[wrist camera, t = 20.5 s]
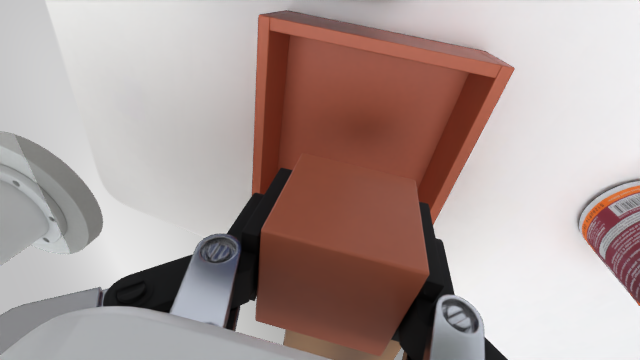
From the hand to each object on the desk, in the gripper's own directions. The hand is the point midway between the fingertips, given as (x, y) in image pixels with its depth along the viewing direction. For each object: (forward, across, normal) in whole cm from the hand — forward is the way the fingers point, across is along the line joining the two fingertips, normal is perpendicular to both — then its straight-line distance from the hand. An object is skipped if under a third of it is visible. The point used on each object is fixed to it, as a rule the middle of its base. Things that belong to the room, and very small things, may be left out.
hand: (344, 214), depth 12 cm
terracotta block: (0, 0, 0) cm, 0 cm away
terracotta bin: (+10, 0, 0) cm, 10 cm away
